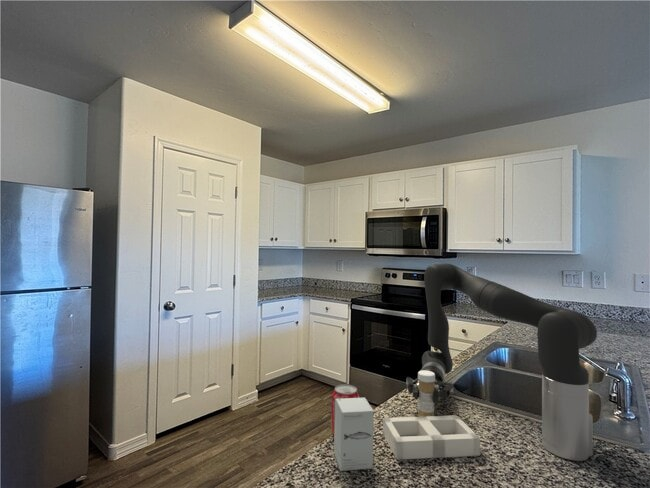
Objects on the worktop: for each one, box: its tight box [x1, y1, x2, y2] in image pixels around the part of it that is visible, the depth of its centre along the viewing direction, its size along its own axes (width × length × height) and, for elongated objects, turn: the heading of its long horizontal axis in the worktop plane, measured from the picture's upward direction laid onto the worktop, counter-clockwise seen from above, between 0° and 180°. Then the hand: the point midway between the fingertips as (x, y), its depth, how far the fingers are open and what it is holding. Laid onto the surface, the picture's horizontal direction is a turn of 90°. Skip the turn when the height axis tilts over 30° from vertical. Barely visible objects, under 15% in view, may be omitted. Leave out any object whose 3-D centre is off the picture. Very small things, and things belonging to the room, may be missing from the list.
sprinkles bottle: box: [417, 370, 436, 417], centre depth 95 cm, size 5×5×14 cm
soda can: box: [330, 383, 360, 436], centre depth 86 cm, size 7×7×12 cm
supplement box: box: [333, 396, 375, 472], centre depth 76 cm, size 7×7×13 cm
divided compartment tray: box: [382, 414, 481, 460], centre depth 83 cm, size 20×11×4 cm, turn 96°
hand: (425, 397), depth 92 cm, fingers closed on sprinkles bottle, 4 cm apart
